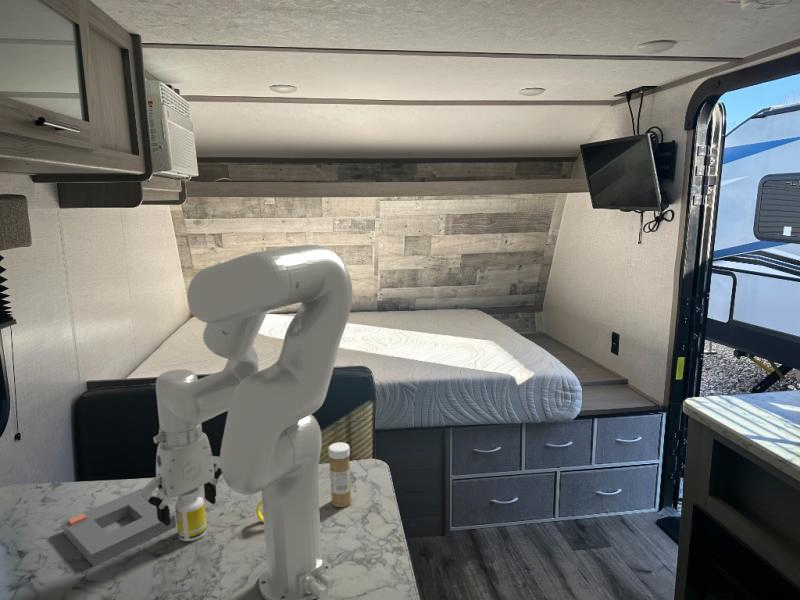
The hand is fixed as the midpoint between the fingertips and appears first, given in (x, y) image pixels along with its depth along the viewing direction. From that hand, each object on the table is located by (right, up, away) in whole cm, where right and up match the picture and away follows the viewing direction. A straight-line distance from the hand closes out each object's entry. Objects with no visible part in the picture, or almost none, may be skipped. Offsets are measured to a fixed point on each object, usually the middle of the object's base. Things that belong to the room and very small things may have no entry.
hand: (188, 511), depth 110 cm
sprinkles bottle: (+30, -2, +11) cm, 32 cm away
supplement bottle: (+1, -5, +1) cm, 5 cm away
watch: (+16, -4, +4) cm, 17 cm away
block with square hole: (-15, -5, +2) cm, 16 cm away
